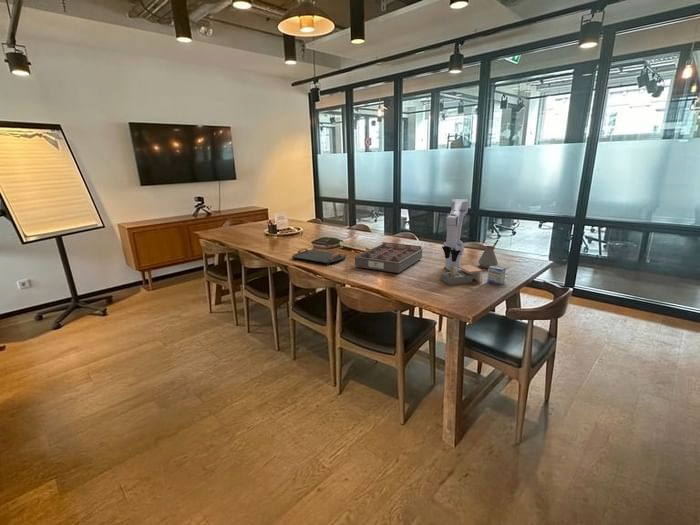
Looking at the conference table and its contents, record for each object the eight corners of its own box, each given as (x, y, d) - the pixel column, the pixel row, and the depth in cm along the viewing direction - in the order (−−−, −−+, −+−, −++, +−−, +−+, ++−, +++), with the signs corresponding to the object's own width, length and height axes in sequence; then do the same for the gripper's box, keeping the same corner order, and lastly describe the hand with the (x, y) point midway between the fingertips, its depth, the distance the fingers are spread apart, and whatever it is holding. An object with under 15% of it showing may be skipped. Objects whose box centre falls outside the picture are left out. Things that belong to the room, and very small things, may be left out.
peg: (448, 280, 199) (449, 267, 197) (454, 280, 200) (455, 266, 198) (451, 282, 196) (452, 268, 194) (457, 282, 197) (458, 268, 194)
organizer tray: (353, 268, 227) (353, 253, 225) (382, 254, 260) (382, 241, 257) (399, 275, 211) (399, 259, 208) (423, 259, 243) (423, 245, 240)
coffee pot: (493, 270, 215) (495, 246, 211) (475, 267, 223) (476, 244, 218) (505, 262, 230) (507, 240, 226) (488, 259, 238) (489, 238, 234)
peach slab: (456, 277, 205) (457, 265, 203) (469, 275, 207) (470, 264, 205) (468, 283, 194) (469, 271, 192) (481, 281, 196) (482, 270, 194)
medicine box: (486, 281, 196) (488, 266, 193) (490, 279, 199) (491, 265, 196) (501, 285, 190) (502, 269, 188) (504, 282, 193) (506, 267, 191)
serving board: (350, 259, 250) (350, 250, 249) (330, 267, 232) (330, 258, 230) (309, 252, 272) (308, 245, 270) (288, 259, 254) (287, 251, 252)
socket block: (440, 279, 201) (440, 272, 200) (462, 277, 205) (462, 270, 204) (449, 285, 192) (449, 278, 191) (472, 282, 195) (472, 275, 194)
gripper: (439, 235, 206) (438, 257, 210) (451, 239, 193) (450, 263, 197) (450, 234, 208) (448, 256, 212) (463, 238, 194) (462, 262, 198)
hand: (450, 259), depth 204 cm, fingers open, 7 cm apart
